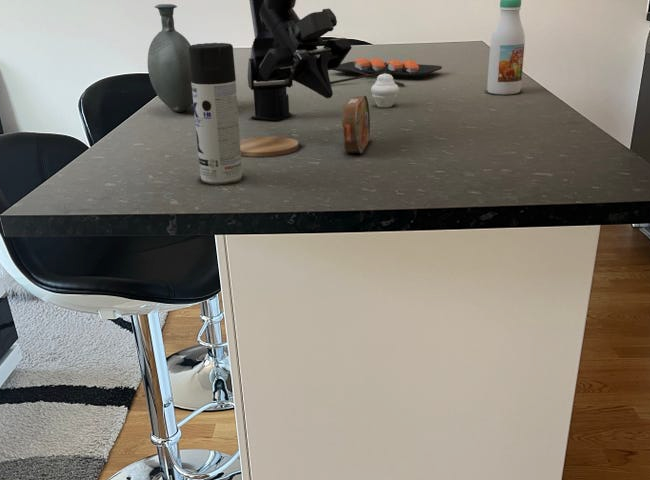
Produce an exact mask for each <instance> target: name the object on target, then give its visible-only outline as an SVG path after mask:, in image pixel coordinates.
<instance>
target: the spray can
mask: <svg viewBox="0 0 650 480" xmlns="http://www.w3.org/2000/svg"><path fill="white" fill-rule="evenodd" d="M190 45H191V46H189V60H190V73H191V83H192V94H193V104H192V105H193V113H194V123H195V133H196V143H197V144H196V146H197V155H198V164H199V165H198V166H199V174H200V180H201V181H202V182H203V183H205V184H209V185H229V184H233V183H237V182H238V181H240V180H241V179H243V165H242V155H241V149H240V140H241V137H240V136H241V135H240V123H239V108H238V96H237V95H238V94H237V78H236V69H235V67H236V65H235V57H234V56H235V55H234V46H233V44H232V43H228V42H227V43H226V42H211V43H209V42H205V43H195V44H190Z"/></svg>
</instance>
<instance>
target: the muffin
mask: <svg viewBox="0 0 650 480" xmlns="http://www.w3.org/2000/svg"><path fill="white" fill-rule="evenodd" d="M394 81H395V80H394V78H393V77H392V76H391V75H390V74H386V73H384V74H381V75H379V76H378V77H377V78H376V81H375V82H374V84H373V85H372V86H371V88H370V92H371V96H372V98H373V100H374V102H375V104H376V106H377V107H379V108H391V107H393V105H394V103H395V101H396V98H397V97H398V93H399V92H400V87H399V85H397V84H395V82H394Z"/></svg>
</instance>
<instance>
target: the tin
mask: <svg viewBox="0 0 650 480" xmlns="http://www.w3.org/2000/svg"><path fill="white" fill-rule="evenodd" d="M341 117H342V118H341V124H342V128H343V130H342V131H343V141H344V142H343V146H344V150H345V152H346V153H347V154H360V155H361V154H363V152H364V150H365V149H366V147H367V145H368V144H369V142H370V137H371V136H370V135H371V122H370V121H371V120H370V119H371V118H370V117H371V115H370V106H369V101H368V97H367V95H365V94H364V95H360V96H352V97H350V99H349V100H348V101H347V102H346V103H345V105H344V106H343V109H342V115H341Z"/></svg>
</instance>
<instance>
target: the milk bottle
mask: <svg viewBox="0 0 650 480" xmlns="http://www.w3.org/2000/svg"><path fill="white" fill-rule="evenodd" d="M521 6H522V0H500V1H499V10H500V13H499V18H498V20H497V23H496V24H495V27H494V28H493V31H492V34H491V38H490V45H489V56H488V57H489V58H488V68H487V69H488V70H487V83H486V84H487V85H486V91H487V92H488V93H489V94H493V95H514V94H519V93H520V92H521V89H522V80H523V79H522V78H523V69H524V68H523V67H524V55H525V44H526V43H525V41H526V40H525V39H526V37H525V31H524V27H523V25H522V21H521V16H520V11H521V8H522V7H521Z"/></svg>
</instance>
